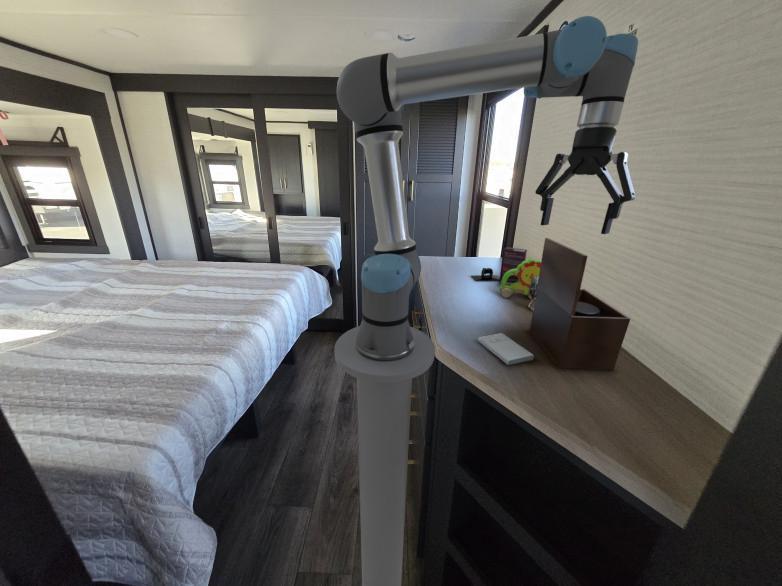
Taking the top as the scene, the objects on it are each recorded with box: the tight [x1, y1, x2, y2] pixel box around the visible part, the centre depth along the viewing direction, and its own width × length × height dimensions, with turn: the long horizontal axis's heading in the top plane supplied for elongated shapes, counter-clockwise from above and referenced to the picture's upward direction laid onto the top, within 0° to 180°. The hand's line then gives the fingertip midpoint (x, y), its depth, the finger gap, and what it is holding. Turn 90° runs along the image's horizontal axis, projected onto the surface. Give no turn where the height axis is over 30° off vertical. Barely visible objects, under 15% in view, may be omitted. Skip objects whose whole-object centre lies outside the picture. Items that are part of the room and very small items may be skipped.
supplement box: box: [498, 246, 528, 287], centre depth 129 cm, size 9×5×16 cm, turn 59°
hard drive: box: [477, 332, 535, 366], centre depth 84 cm, size 2×8×12 cm
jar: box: [573, 302, 600, 317], centre depth 83 cm, size 9×8×12 cm
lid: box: [537, 237, 588, 315], centre depth 78 cm, size 14×19×1 cm
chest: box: [529, 288, 631, 371], centre depth 83 cm, size 13×19×14 cm
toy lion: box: [499, 258, 541, 301], centre depth 118 cm, size 16×5×15 cm, turn 81°
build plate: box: [470, 267, 500, 282], centre depth 140 cm, size 12×7×5 cm, turn 95°
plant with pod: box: [527, 276, 539, 312], centre depth 106 cm, size 8×11×20 cm
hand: (572, 229), depth 74 cm, fingers open, 13 cm apart
